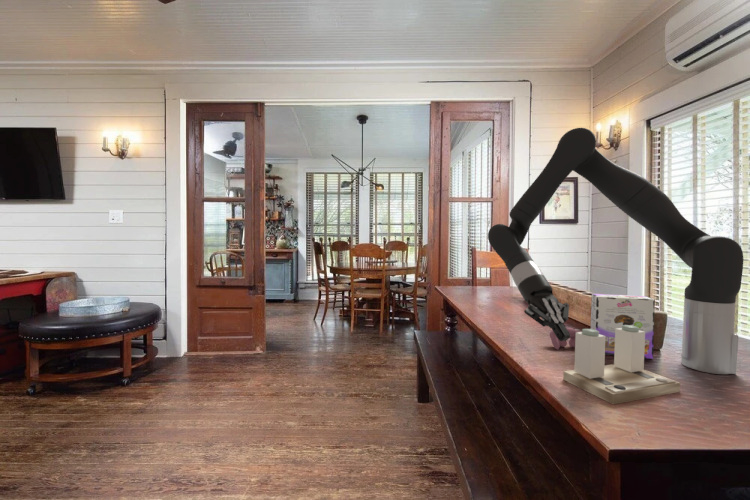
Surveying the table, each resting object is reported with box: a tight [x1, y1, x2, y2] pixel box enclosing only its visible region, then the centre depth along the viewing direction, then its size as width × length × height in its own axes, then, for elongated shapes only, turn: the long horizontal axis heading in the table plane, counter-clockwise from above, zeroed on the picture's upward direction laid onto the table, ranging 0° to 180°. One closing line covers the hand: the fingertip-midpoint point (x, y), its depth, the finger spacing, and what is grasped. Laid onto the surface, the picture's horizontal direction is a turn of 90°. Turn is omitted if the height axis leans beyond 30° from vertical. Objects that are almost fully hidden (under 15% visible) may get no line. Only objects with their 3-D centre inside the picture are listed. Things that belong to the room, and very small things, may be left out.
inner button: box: [613, 325, 645, 372], centre depth 81 cm, size 4×4×10 cm
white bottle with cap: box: [573, 328, 606, 379], centre depth 77 cm, size 4×4×10 cm
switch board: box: [563, 363, 681, 405], centre depth 77 cm, size 12×19×2 cm, turn 107°
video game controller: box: [549, 326, 582, 351], centre depth 103 cm, size 10×5×7 cm, turn 85°
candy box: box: [590, 293, 656, 360], centre depth 98 cm, size 14×6×16 cm, turn 71°
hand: (565, 339), depth 83 cm, fingers closed
